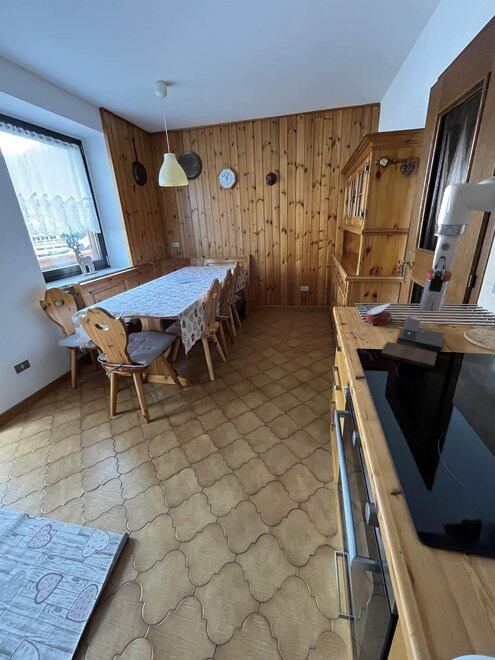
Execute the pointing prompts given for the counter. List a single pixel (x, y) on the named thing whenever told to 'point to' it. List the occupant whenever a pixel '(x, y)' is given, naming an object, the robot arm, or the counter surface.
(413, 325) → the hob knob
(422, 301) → the jar with red lid
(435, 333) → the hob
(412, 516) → the counter surface
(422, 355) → the board
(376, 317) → the canned food
